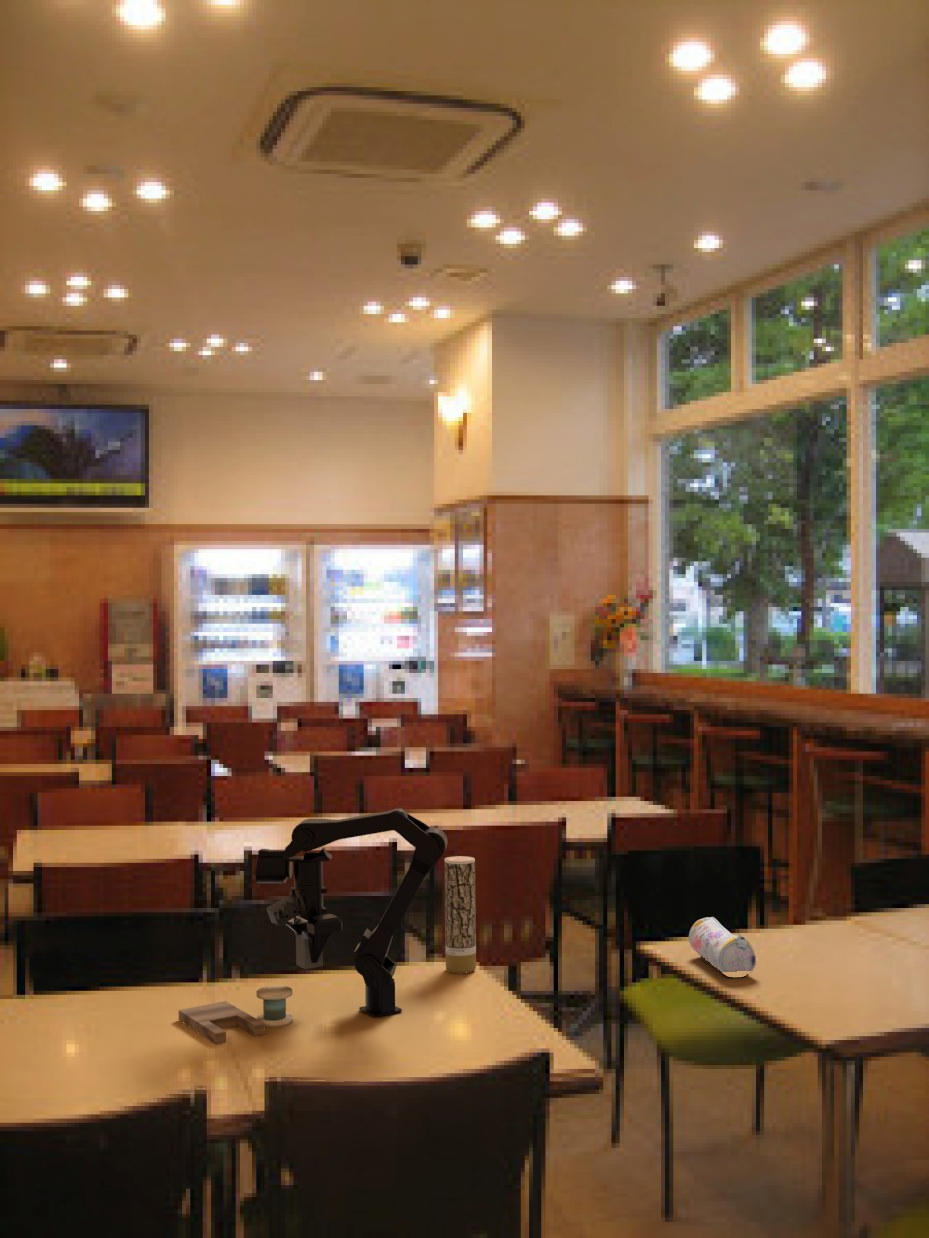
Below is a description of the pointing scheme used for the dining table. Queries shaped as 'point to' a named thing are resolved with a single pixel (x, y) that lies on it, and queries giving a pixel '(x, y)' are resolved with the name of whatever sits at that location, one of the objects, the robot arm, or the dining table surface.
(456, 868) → the paper tube
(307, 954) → the tab block
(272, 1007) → the bobbin
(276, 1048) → the dining table surface
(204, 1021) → the notch board
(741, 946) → the pencil case
